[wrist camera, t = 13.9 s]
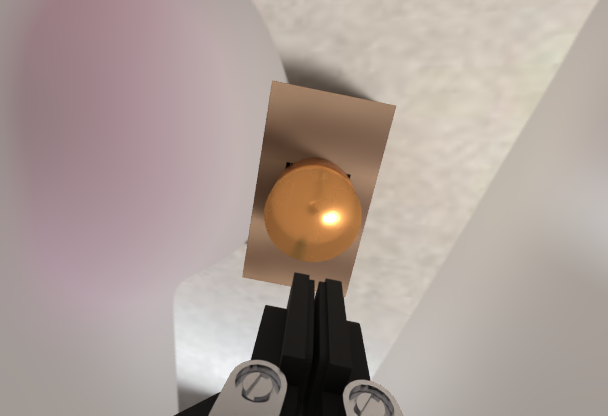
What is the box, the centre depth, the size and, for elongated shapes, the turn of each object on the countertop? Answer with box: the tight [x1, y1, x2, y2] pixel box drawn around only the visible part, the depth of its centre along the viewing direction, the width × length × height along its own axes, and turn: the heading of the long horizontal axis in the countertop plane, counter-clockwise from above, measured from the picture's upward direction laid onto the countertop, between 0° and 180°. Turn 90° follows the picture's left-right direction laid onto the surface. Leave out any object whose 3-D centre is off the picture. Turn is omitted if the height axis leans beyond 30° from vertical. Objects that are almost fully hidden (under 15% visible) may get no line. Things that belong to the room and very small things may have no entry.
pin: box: [264, 158, 362, 262], centre depth 26 cm, size 6×6×10 cm
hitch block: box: [242, 81, 396, 297], centre depth 29 cm, size 16×9×6 cm, turn 169°
